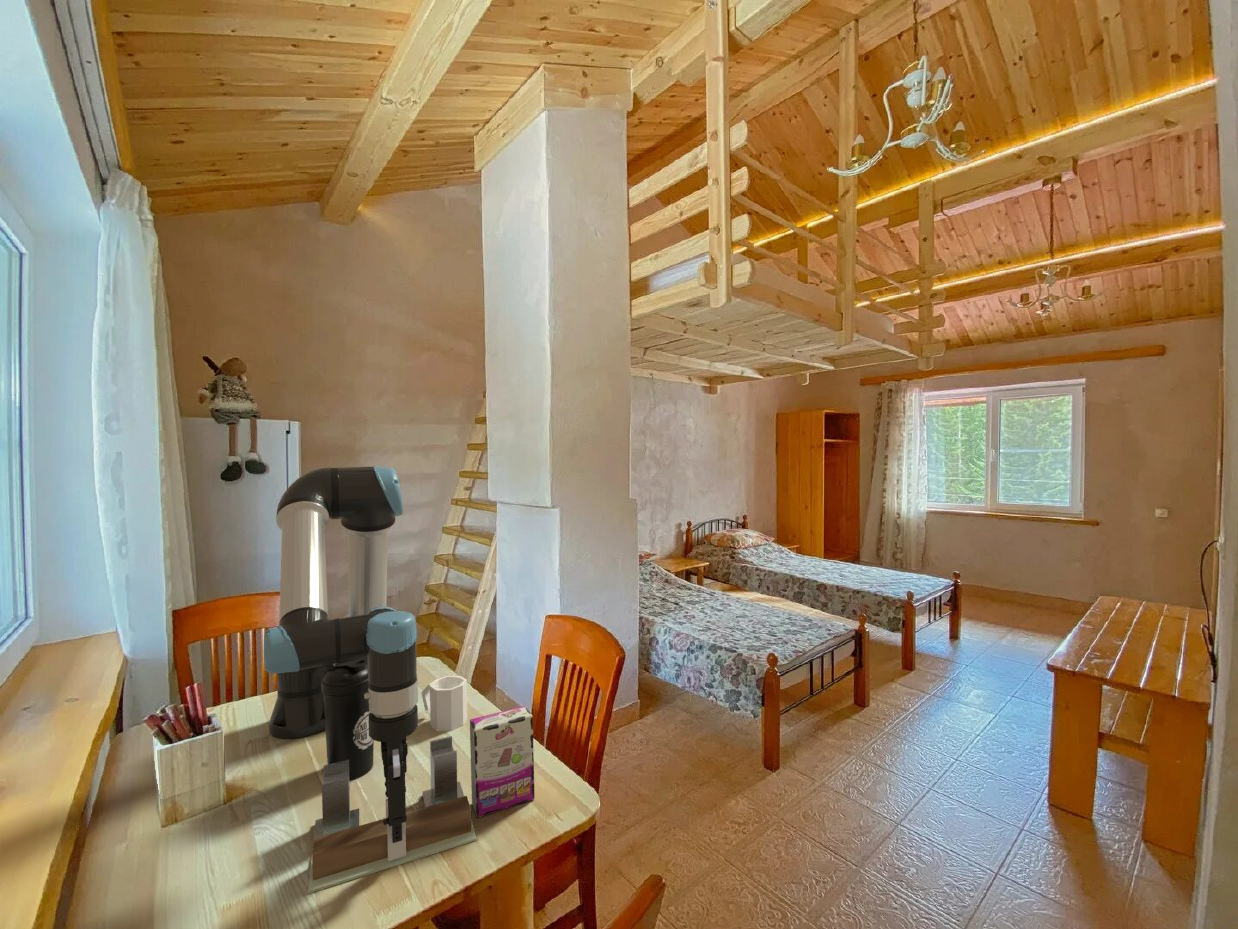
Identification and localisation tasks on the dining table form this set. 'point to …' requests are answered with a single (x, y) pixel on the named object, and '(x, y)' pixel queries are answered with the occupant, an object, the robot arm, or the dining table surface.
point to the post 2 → (442, 773)
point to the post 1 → (336, 801)
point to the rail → (373, 841)
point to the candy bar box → (501, 760)
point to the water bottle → (348, 716)
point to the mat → (388, 862)
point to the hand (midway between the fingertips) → (395, 846)
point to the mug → (446, 702)
